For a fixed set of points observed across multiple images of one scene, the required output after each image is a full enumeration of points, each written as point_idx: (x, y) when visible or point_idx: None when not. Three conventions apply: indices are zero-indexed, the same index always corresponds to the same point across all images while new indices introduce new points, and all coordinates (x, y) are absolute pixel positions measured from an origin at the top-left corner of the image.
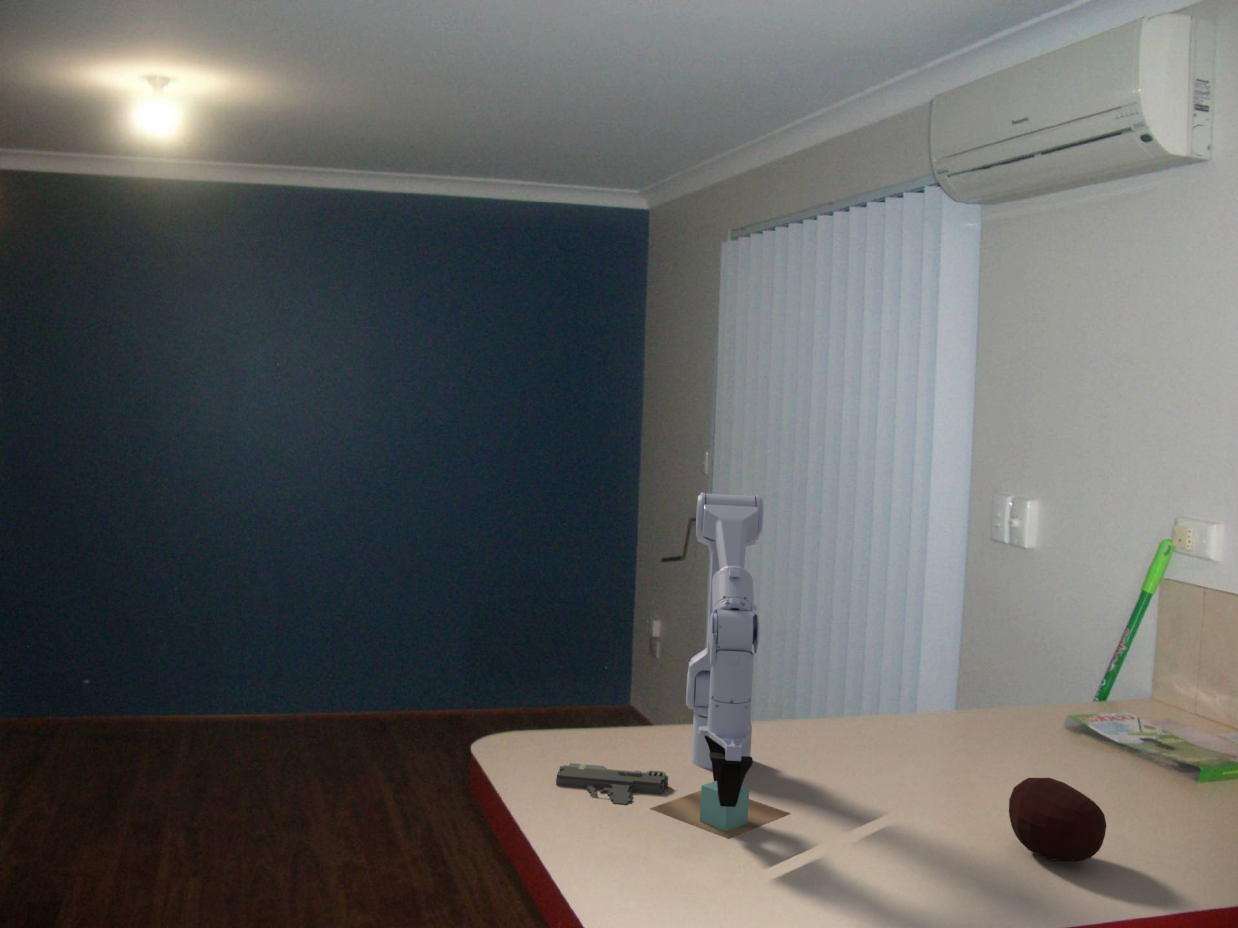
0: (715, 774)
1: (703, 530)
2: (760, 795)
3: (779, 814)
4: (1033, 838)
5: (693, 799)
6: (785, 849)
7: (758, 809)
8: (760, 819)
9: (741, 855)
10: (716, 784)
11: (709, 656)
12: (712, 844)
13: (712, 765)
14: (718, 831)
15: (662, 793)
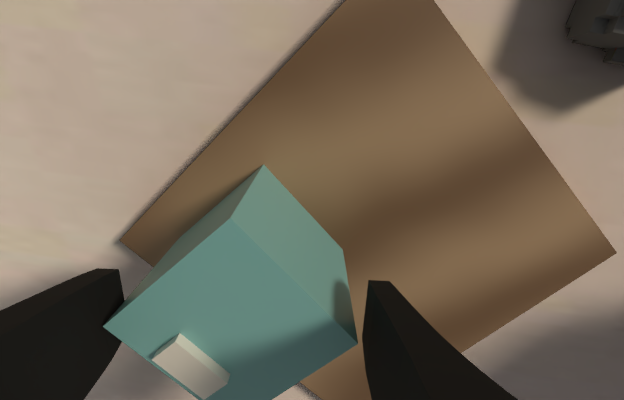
0: (380, 316)
1: None
2: (544, 367)
3: (341, 398)
4: None
5: (489, 166)
6: (147, 364)
7: None
8: None
9: (71, 256)
10: (257, 297)
11: None
12: (133, 184)
13: (400, 339)
14: (175, 216)
15: (576, 35)
